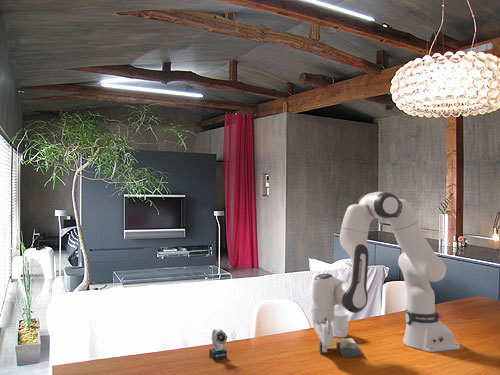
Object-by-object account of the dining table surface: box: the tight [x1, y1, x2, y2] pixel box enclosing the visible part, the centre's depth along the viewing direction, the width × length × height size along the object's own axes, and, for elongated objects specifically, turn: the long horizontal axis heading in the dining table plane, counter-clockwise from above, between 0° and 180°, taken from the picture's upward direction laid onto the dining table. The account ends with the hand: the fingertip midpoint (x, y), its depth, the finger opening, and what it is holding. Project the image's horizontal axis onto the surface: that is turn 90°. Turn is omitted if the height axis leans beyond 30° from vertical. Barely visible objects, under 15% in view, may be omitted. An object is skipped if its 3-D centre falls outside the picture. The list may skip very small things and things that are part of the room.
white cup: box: [331, 310, 349, 339], centre depth 195 cm, size 8×8×10 cm
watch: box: [208, 328, 228, 361], centre depth 169 cm, size 6×8×11 cm
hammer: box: [319, 338, 357, 355], centre depth 174 cm, size 14×5×5 cm, turn 93°
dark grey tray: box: [335, 341, 362, 358], centre depth 174 cm, size 8×9×3 cm
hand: (323, 349), depth 174 cm, fingers open, 3 cm apart
